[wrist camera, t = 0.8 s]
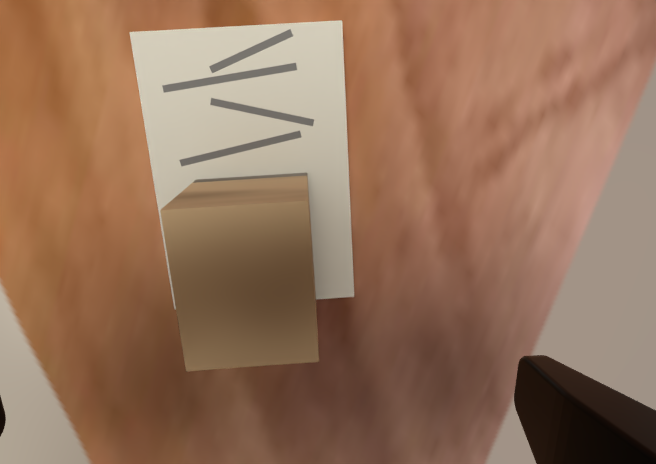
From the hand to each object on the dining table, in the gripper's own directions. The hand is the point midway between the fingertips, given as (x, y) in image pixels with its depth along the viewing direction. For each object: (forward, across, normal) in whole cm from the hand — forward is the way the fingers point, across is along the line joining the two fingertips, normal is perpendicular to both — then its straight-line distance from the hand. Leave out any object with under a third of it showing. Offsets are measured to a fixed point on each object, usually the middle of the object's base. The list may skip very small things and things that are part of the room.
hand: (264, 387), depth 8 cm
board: (+11, +1, -2) cm, 11 cm away
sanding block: (+10, +1, +1) cm, 10 cm away
